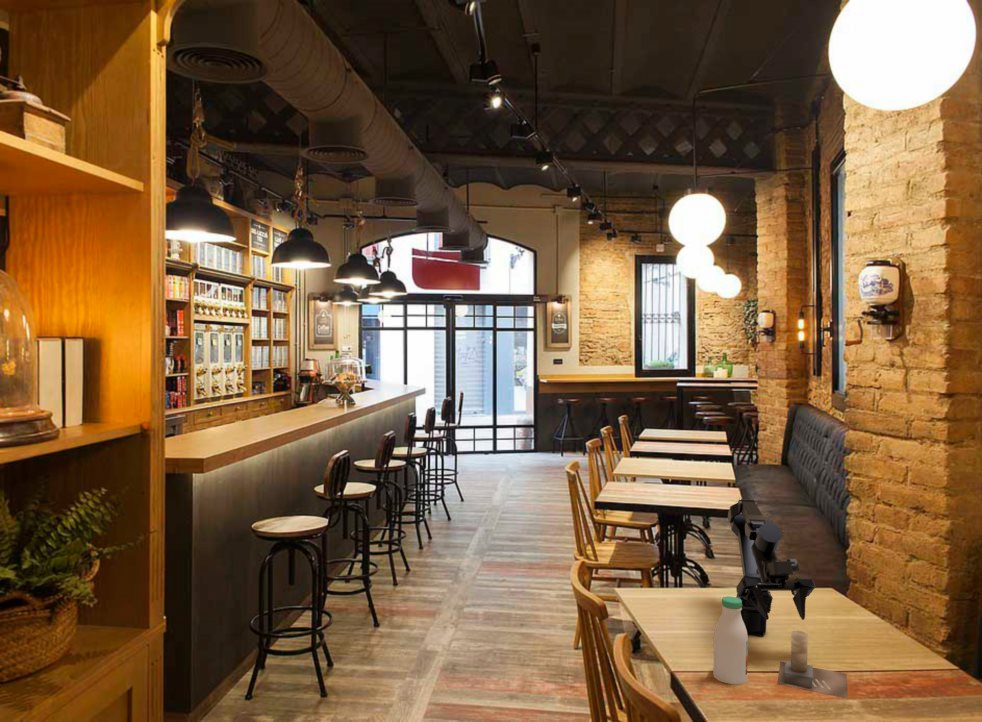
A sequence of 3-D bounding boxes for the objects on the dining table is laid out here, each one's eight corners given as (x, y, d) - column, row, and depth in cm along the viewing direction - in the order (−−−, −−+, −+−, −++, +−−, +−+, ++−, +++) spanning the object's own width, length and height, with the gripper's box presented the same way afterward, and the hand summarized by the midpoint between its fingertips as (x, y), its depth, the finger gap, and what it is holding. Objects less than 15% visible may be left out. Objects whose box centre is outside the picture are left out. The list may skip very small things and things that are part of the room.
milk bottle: (742, 692, 167) (744, 607, 167) (709, 683, 171) (711, 600, 171) (750, 679, 173) (752, 597, 173) (717, 671, 177) (719, 591, 177)
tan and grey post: (784, 682, 169) (785, 636, 169) (785, 671, 176) (786, 626, 176) (812, 688, 167) (813, 641, 167) (812, 676, 173) (813, 631, 173)
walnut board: (777, 689, 169) (777, 684, 169) (780, 666, 181) (780, 661, 181) (848, 703, 162) (848, 698, 162) (846, 678, 175) (846, 673, 175)
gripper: (741, 546, 183) (759, 604, 172) (812, 546, 184) (834, 604, 173) (729, 567, 191) (745, 624, 180) (797, 567, 192) (817, 624, 181)
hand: (785, 619), depth 178 cm, fingers open, 9 cm apart
